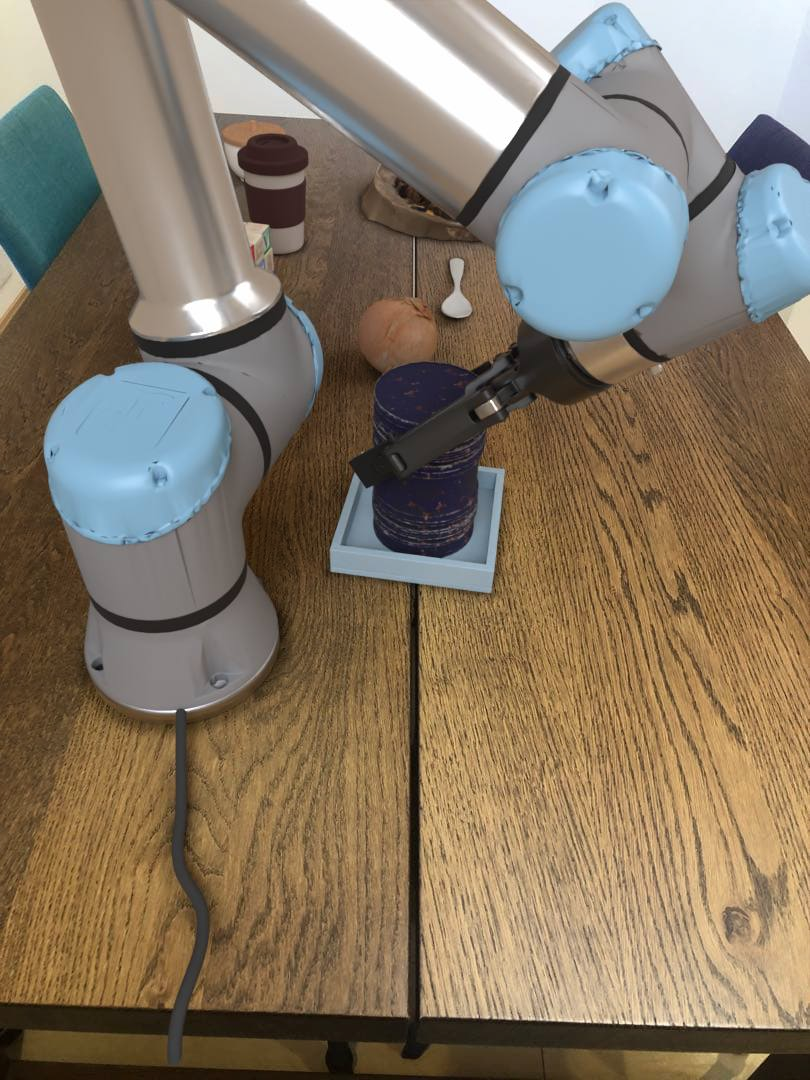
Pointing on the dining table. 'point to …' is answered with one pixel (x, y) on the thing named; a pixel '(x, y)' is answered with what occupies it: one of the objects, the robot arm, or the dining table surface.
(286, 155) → the coffee cup
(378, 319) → the onion
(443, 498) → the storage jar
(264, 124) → the trinket box
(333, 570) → the tray
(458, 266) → the spoon
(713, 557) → the dining table surface
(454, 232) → the food dish
